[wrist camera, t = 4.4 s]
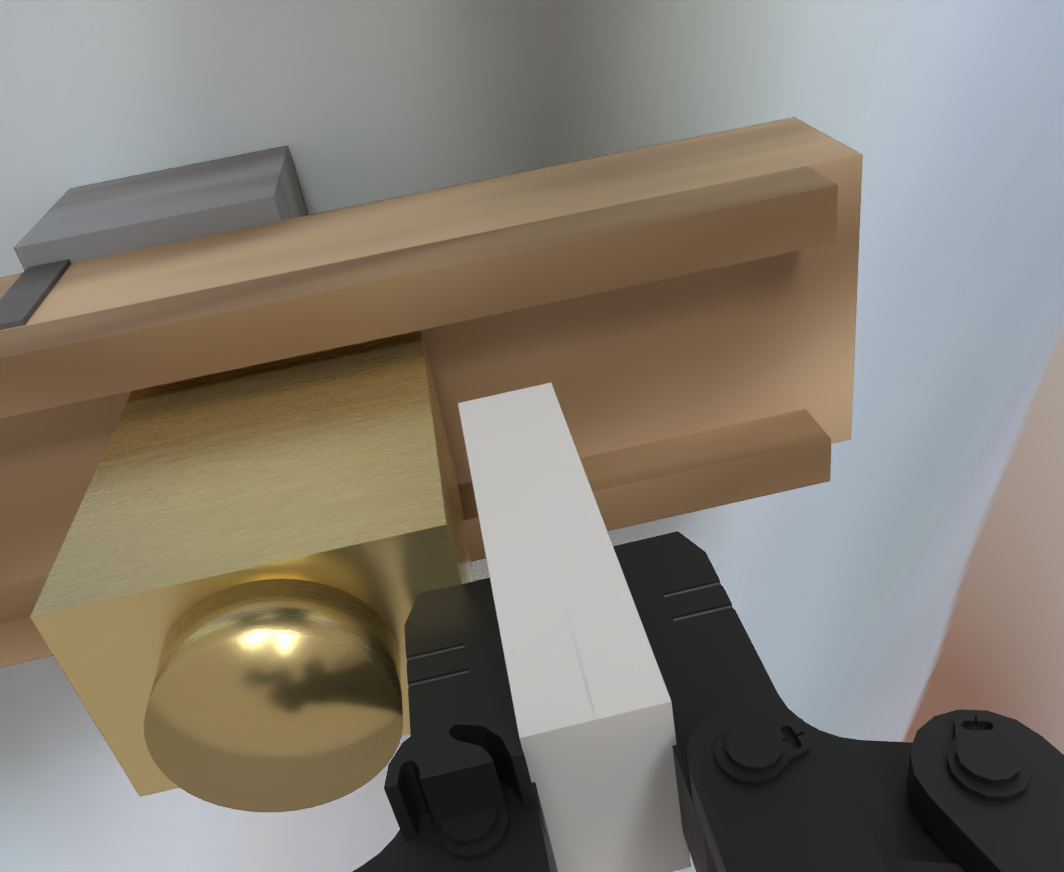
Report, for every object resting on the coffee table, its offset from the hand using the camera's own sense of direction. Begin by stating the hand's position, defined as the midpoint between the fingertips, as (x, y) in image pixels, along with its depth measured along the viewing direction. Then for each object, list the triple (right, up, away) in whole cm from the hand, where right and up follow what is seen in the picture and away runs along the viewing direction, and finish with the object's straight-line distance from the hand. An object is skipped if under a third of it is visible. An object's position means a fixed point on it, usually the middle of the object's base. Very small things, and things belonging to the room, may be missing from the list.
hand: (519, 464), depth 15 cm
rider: (-4, +1, +2) cm, 4 cm away
